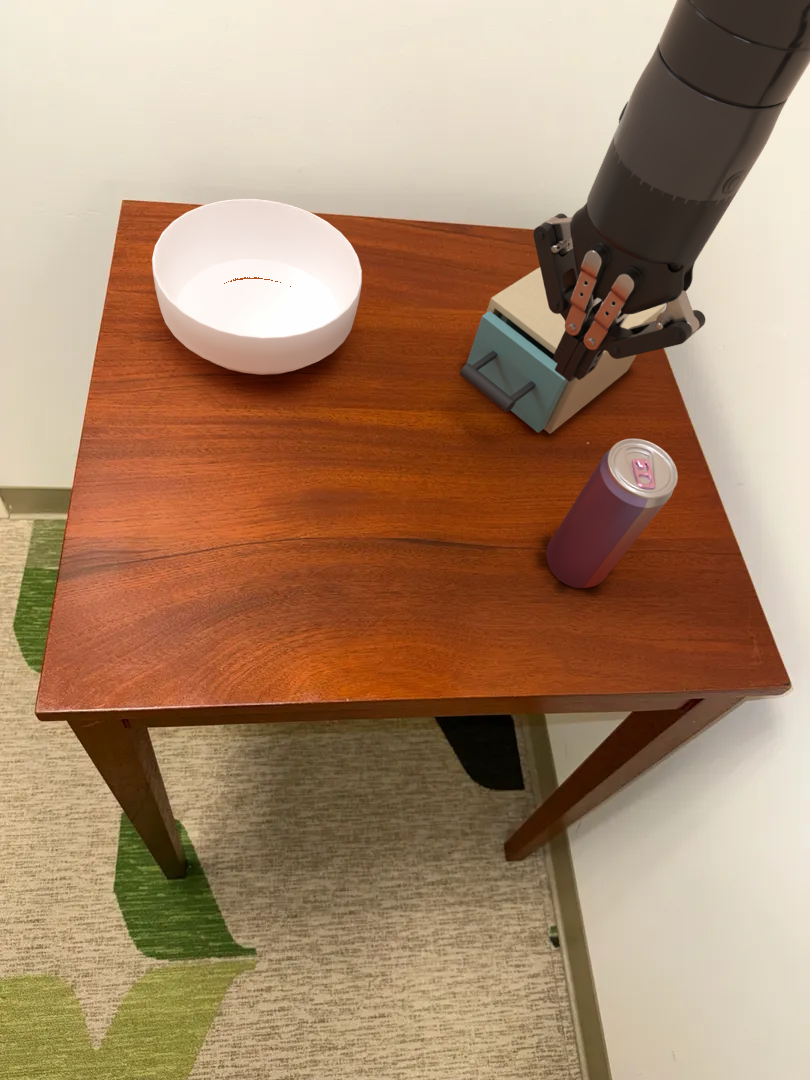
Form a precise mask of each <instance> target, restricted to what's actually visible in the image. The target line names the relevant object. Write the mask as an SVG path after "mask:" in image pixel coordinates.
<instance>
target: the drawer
mask: <svg viewBox="0 0 810 1080" xmlns="http://www.w3.org/2000/svg"><path fill="white" fill-rule="evenodd" d="M486 312H487V311H486ZM486 312H485V313H484V314H483V315H481V318H480V321H479V324H478V327H477V330H476V334H475V337H474V340H473V343H472V346H471V349H470V352H469V355H468V358H467V361H466V364H464V366H463V367H462V368H461V369H460V372H459V376H461V377H462V378H463V379H464V380H465V381H467V382H468V383H469V384H470V385H472V386H473V387H474V388H475V389H476V390H478V391H479V392H480V393H481V394H483V395H484V396H485V397H486V398H487V399H488V400H490V401H491V402H492V403H493V404H495V405H496V406H497V407H498V408H499V409H500V410H502V411H503V412H505V414H506V413H509V412H510V411H511V412H512V413H513V414H515V415H516V416H517V417H518V419H520V420H522V421H523V422H524V423H525V424H527V425H528V426H529V428H531V429H533V431H535V432H536V433H538V434H539V433H540V432H541V431H543V430H544V428H545V427H546V425H547V422H548V420H549V418H550V416H551V414H552V412H553V411H554V409H555V407H556V405H557V403H558V401H559V399H560V397H561V395H562V393H563V391H564V389H565V387H566V385H567V383H568V380H567V379H565V378H564V377H563V376H561V375H560V374H559V373H558V372H556V371H555V368H556V366H557V362H555V361H554V354H553V353H552V352H551V351H549V350H548V349H547V348H545V347H544V346H543V345H542V344H540V343H539V342H538V341H536V340H535V339H534V338H533V337H531V336H530V335H529V334H527V333H526V332H525V331H524V330H522V329H521V328H520V327H518V326H517V325H516V324H515V323H513V322H512V321H511V320H509V319H508V318H507V317H506V316H504V315H503V314H502V316H501V319H499V318H498V317H497V316H496V315H494V314H493V313H492V312H491V311H489V312H487V313H486Z"/></svg>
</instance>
